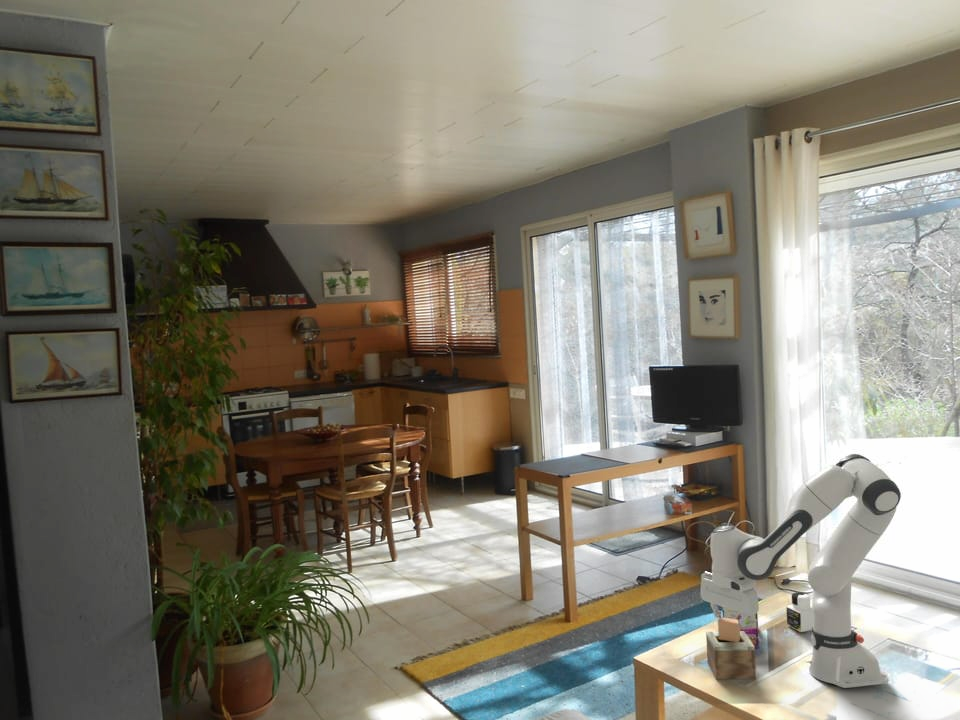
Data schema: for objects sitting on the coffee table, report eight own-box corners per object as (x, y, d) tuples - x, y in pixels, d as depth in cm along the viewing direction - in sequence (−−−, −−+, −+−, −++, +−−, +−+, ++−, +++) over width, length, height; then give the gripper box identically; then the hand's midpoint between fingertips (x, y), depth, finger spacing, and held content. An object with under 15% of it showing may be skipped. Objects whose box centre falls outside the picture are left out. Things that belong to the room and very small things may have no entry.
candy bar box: (758, 642, 253) (756, 595, 253) (759, 649, 249) (757, 600, 248) (724, 640, 257) (722, 593, 257) (723, 646, 252) (721, 598, 252)
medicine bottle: (786, 625, 267) (785, 592, 266) (803, 622, 269) (801, 589, 268) (800, 632, 260) (799, 598, 259) (817, 629, 262) (816, 595, 262)
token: (740, 638, 234) (739, 620, 234) (738, 642, 232) (737, 623, 231) (721, 635, 237) (720, 617, 237) (718, 639, 235) (717, 620, 234)
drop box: (745, 661, 240) (744, 631, 240) (755, 678, 228) (754, 646, 228) (707, 662, 241) (706, 631, 241) (715, 679, 229) (714, 647, 229)
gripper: (694, 572, 241) (697, 614, 241) (746, 588, 224) (749, 633, 224) (708, 568, 244) (710, 609, 245) (760, 583, 227) (763, 628, 227)
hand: (729, 621), depth 234 cm, fingers open, 8 cm apart
